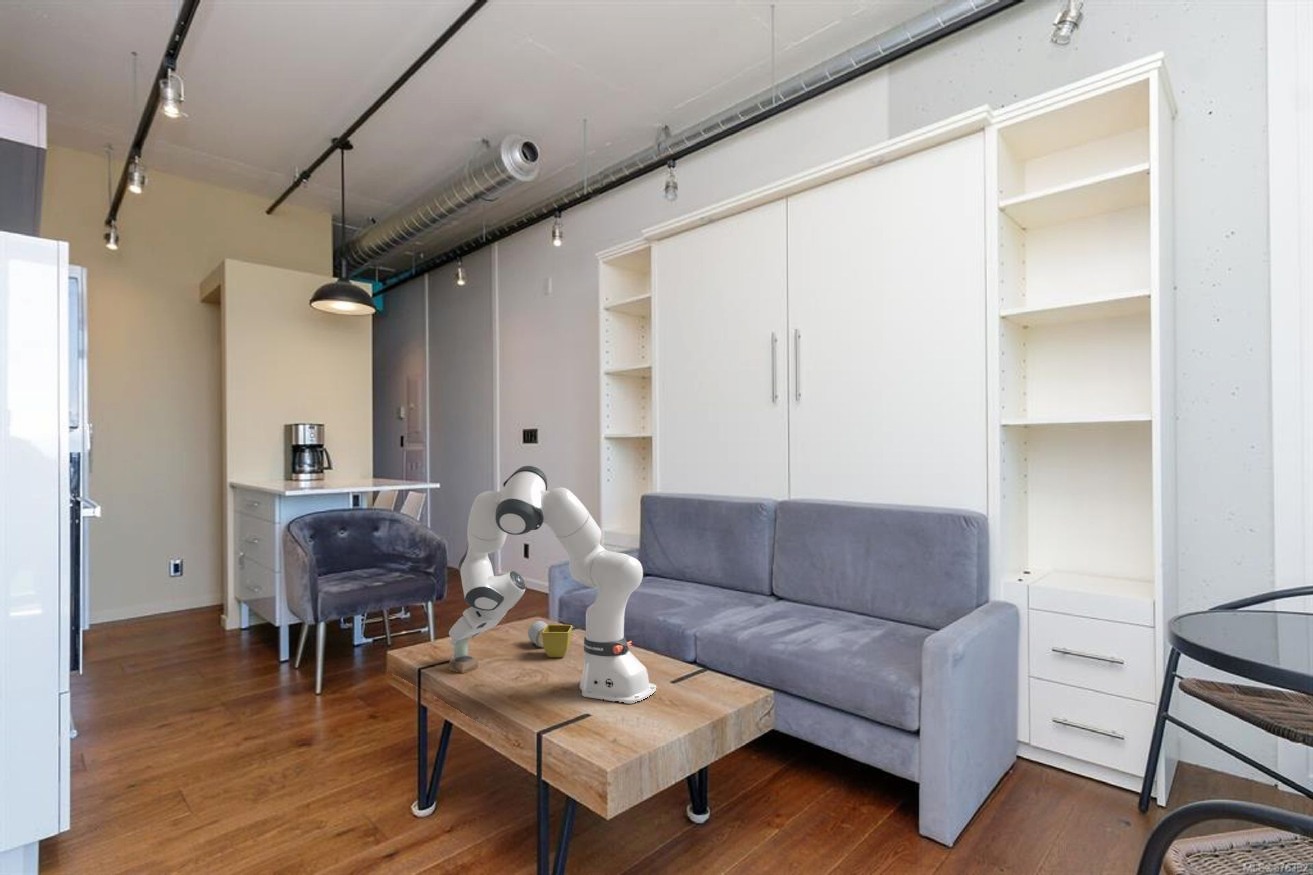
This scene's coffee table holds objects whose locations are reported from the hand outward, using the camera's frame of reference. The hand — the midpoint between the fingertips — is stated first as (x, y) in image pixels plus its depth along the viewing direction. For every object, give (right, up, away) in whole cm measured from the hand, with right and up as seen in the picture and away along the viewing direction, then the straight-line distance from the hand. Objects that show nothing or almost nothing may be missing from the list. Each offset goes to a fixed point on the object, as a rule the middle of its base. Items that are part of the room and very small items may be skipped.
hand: (463, 639), depth 206 cm
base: (+2, -7, -6) cm, 10 cm away
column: (-1, -7, +1) cm, 8 cm away
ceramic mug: (+23, -8, +20) cm, 31 cm away
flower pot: (+29, -8, +8) cm, 31 cm away
